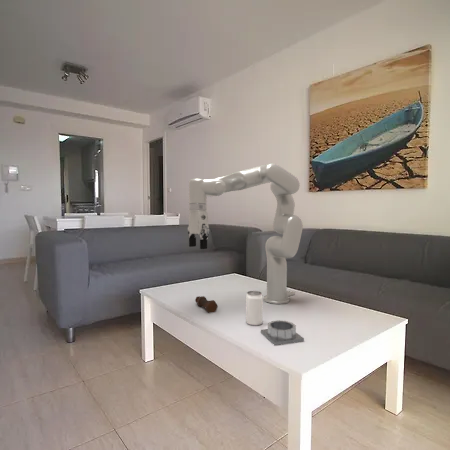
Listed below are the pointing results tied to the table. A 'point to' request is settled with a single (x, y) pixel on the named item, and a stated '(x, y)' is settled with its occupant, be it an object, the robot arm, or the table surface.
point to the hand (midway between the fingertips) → (197, 247)
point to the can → (254, 308)
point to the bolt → (206, 304)
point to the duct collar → (281, 333)
